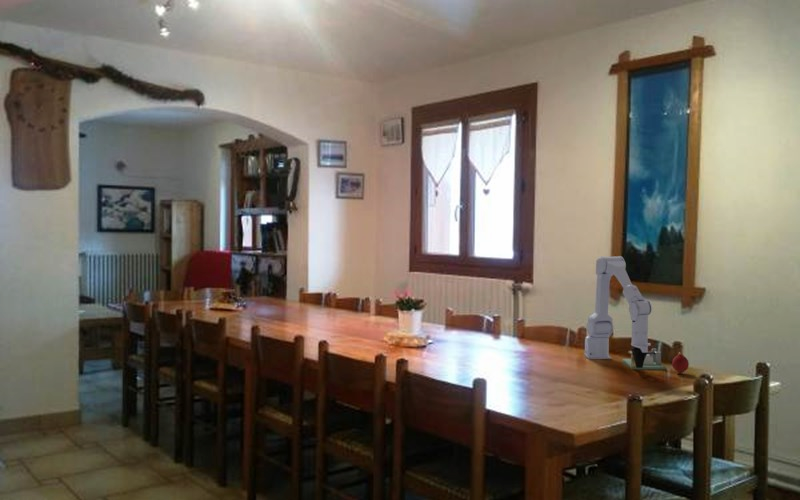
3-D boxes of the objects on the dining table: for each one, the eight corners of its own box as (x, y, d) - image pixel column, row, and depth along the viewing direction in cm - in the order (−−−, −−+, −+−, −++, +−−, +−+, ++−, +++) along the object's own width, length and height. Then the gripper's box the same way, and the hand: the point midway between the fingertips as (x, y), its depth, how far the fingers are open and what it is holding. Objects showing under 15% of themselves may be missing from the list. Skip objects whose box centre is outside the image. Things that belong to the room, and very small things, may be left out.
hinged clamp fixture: (631, 369, 262) (631, 354, 262) (621, 361, 276) (622, 346, 276) (665, 369, 261) (665, 354, 261) (654, 361, 275) (654, 346, 275)
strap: (630, 354, 267) (630, 352, 267) (627, 352, 271) (627, 349, 271) (659, 355, 266) (659, 352, 266) (655, 353, 270) (655, 350, 270)
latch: (632, 366, 262) (632, 353, 262) (629, 364, 266) (629, 351, 266) (638, 366, 262) (638, 353, 261) (635, 364, 266) (635, 351, 266)
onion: (688, 372, 256) (689, 351, 256) (688, 376, 251) (688, 354, 251) (672, 371, 259) (672, 350, 258) (671, 374, 254) (671, 353, 253)
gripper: (656, 335, 248) (655, 372, 249) (644, 328, 263) (644, 363, 264) (636, 335, 249) (636, 371, 250) (626, 328, 263) (625, 362, 264)
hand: (639, 367), depth 257 cm, fingers closed
